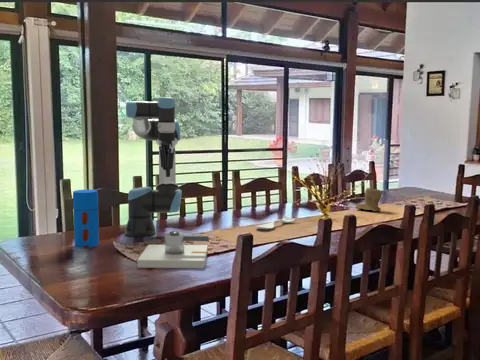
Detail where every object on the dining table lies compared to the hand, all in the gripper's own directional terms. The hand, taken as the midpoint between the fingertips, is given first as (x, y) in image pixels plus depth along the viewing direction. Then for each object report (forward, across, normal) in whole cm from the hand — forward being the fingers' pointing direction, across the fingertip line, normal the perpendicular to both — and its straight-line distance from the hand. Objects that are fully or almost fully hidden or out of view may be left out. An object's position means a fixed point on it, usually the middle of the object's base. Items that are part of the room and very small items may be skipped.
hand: (166, 183), depth 225 cm
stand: (+28, +25, -8) cm, 38 cm away
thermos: (+29, -16, -33) cm, 47 cm away
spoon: (+30, -7, +68) cm, 74 cm away
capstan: (+24, +28, -3) cm, 37 cm away
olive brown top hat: (+31, -16, +150) cm, 154 cm away
